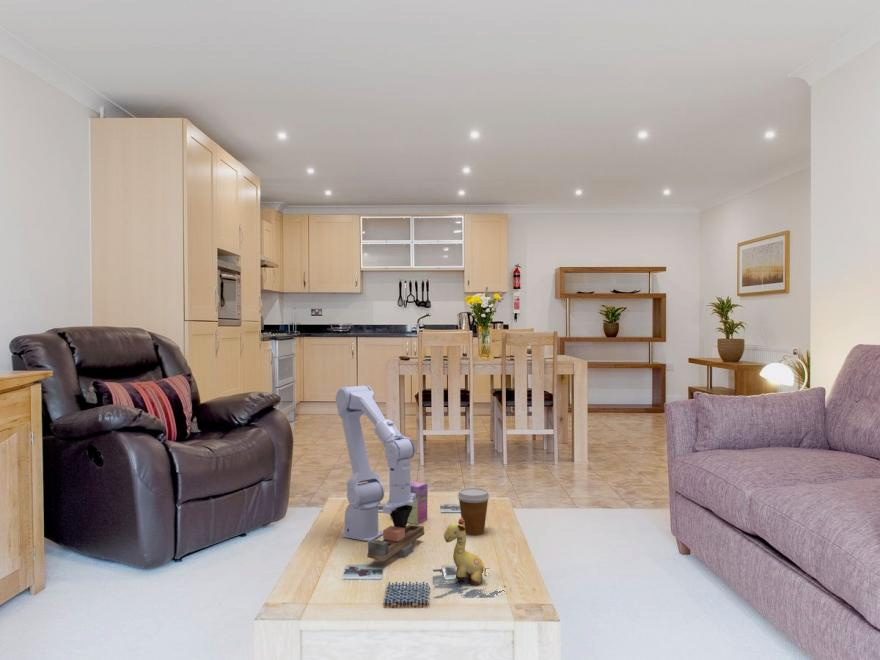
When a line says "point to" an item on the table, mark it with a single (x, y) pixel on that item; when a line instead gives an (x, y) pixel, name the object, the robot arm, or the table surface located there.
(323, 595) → the table surface
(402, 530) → the block
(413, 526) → the beam
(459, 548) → the stuffed giraffe
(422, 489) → the box
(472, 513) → the disposable coffee cup
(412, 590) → the spiky bristle mat
